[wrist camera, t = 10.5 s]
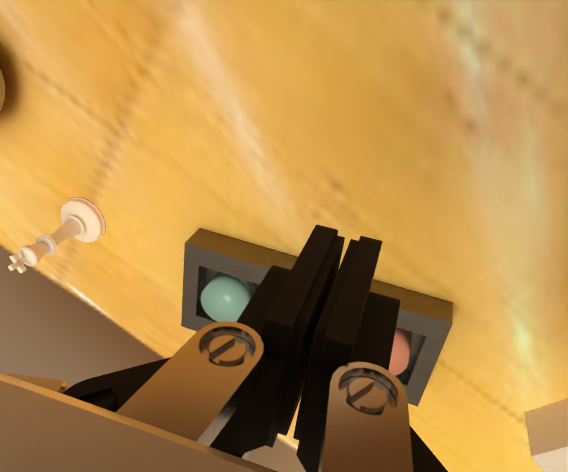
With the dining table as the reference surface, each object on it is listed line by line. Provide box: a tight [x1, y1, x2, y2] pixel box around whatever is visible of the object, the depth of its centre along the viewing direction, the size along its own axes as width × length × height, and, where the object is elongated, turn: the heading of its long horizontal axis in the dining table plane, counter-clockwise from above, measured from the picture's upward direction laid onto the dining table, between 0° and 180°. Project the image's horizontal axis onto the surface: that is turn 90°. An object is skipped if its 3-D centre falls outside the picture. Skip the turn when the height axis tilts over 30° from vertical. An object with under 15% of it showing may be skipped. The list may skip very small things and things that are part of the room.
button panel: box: [181, 228, 453, 406], centre depth 46 cm, size 24×10×3 cm, turn 82°
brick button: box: [389, 327, 411, 376], centre depth 43 cm, size 5×5×3 cm
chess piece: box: [8, 198, 105, 273], centre depth 47 cm, size 5×5×10 cm
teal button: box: [201, 272, 256, 322], centre depth 46 cm, size 5×5×3 cm
